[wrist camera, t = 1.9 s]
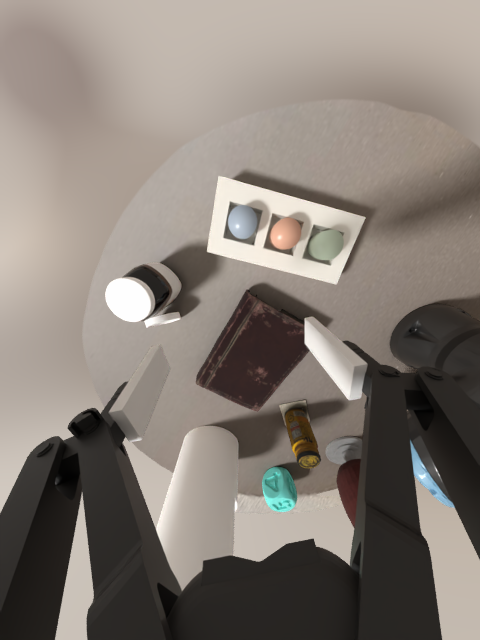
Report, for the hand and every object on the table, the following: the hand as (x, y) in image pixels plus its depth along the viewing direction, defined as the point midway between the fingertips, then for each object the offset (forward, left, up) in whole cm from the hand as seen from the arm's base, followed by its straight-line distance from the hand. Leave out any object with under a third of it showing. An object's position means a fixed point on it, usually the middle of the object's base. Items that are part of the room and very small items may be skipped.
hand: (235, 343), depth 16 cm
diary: (+2, +15, -24) cm, 28 cm away
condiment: (-2, +38, -23) cm, 45 cm away
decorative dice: (+11, +63, -23) cm, 68 cm away
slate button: (-5, -11, -19) cm, 23 cm away
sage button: (-16, -3, -19) cm, 25 cm away
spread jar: (+15, -5, -23) cm, 28 cm away
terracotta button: (-11, -7, -19) cm, 23 cm away
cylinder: (+26, +42, -23) cm, 55 cm away
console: (-11, -7, -23) cm, 26 cm away
